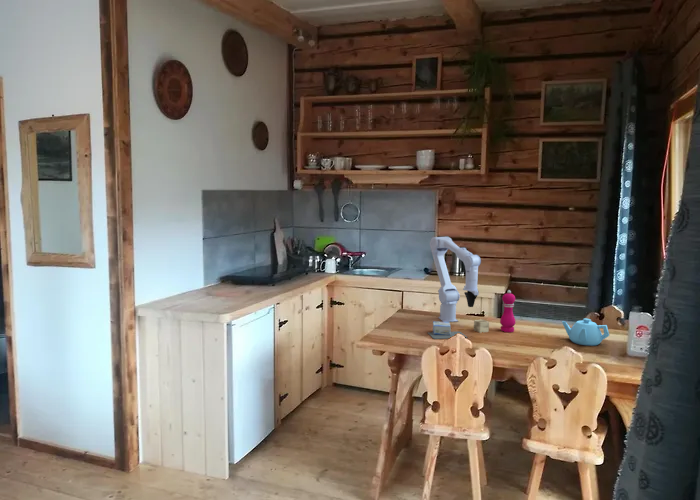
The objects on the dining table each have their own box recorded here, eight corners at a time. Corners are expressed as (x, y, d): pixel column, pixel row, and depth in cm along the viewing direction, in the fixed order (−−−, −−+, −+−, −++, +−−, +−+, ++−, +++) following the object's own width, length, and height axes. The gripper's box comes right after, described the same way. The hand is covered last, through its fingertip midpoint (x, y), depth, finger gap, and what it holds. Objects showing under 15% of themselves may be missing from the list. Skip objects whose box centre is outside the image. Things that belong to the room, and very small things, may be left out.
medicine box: (449, 321, 263) (450, 326, 255) (449, 330, 264) (450, 335, 255) (432, 321, 264) (433, 325, 255) (432, 330, 265) (433, 334, 256)
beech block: (473, 330, 266) (474, 320, 266) (482, 329, 268) (482, 319, 268) (479, 333, 262) (480, 322, 261) (488, 331, 264) (488, 321, 263)
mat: (427, 333, 260) (427, 332, 260) (459, 332, 263) (459, 331, 263) (433, 339, 250) (433, 338, 250) (467, 338, 253) (467, 337, 253)
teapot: (580, 348, 239) (582, 324, 238) (559, 338, 254) (561, 315, 252) (610, 346, 243) (612, 322, 241) (588, 336, 257) (590, 314, 256)
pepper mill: (498, 331, 264) (500, 290, 262) (500, 328, 271) (502, 288, 268) (514, 333, 261) (516, 292, 259) (515, 329, 268) (517, 289, 266)
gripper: (458, 277, 275) (457, 303, 277) (469, 282, 261) (468, 310, 263) (472, 276, 276) (471, 303, 278) (483, 282, 262) (482, 309, 264)
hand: (470, 306), depth 270 cm, fingers closed
